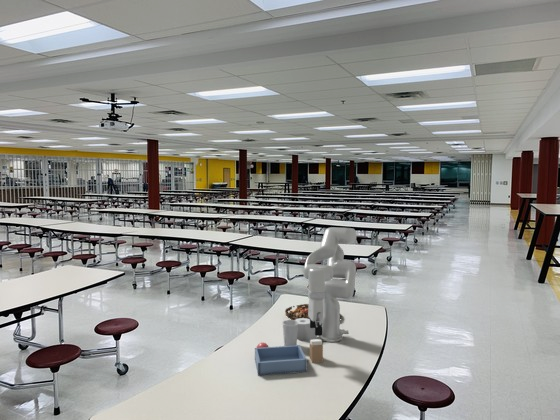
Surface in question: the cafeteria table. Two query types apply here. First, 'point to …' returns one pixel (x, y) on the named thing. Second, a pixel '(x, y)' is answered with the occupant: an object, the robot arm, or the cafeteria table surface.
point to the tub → (280, 360)
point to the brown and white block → (316, 350)
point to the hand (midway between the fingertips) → (315, 331)
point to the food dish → (299, 312)
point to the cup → (290, 332)
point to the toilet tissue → (305, 330)
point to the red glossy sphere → (262, 345)
